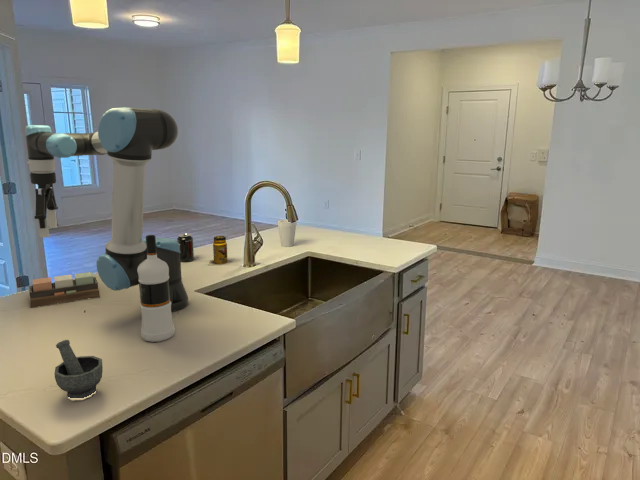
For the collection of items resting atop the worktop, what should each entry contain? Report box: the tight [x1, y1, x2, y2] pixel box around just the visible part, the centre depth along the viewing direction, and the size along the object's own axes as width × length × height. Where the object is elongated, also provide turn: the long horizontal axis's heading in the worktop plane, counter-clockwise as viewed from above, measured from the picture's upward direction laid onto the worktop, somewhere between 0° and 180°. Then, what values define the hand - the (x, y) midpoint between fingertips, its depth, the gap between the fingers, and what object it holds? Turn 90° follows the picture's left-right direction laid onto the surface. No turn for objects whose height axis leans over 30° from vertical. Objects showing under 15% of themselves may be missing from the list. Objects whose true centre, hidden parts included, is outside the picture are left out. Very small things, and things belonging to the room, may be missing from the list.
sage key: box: [74, 271, 94, 286], centre depth 169 cm, size 6×6×3 cm
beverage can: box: [176, 233, 195, 263], centre depth 212 cm, size 7×7×12 cm
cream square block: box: [53, 274, 74, 289], centre depth 166 cm, size 6×6×3 cm
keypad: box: [28, 276, 101, 309], centre depth 167 cm, size 13×21×4 cm, turn 120°
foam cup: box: [277, 218, 297, 248], centre depth 241 cm, size 10×9×13 cm
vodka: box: [137, 234, 176, 343], centre depth 133 cm, size 9×9×30 cm
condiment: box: [208, 235, 229, 266], centre depth 209 cm, size 7×8×12 cm
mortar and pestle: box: [54, 339, 104, 398], centre depth 105 cm, size 11×9×12 cm
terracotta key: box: [32, 276, 53, 292], centre depth 163 cm, size 6×6×3 cm
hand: (48, 232), depth 165 cm, fingers open, 13 cm apart
